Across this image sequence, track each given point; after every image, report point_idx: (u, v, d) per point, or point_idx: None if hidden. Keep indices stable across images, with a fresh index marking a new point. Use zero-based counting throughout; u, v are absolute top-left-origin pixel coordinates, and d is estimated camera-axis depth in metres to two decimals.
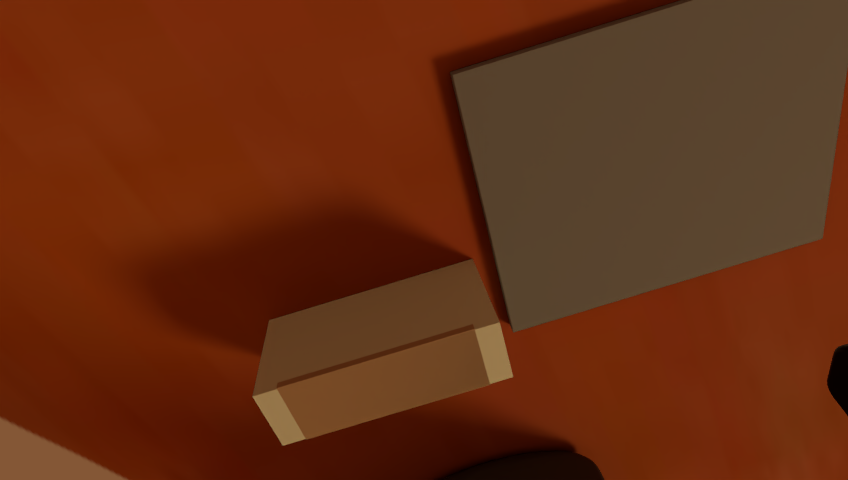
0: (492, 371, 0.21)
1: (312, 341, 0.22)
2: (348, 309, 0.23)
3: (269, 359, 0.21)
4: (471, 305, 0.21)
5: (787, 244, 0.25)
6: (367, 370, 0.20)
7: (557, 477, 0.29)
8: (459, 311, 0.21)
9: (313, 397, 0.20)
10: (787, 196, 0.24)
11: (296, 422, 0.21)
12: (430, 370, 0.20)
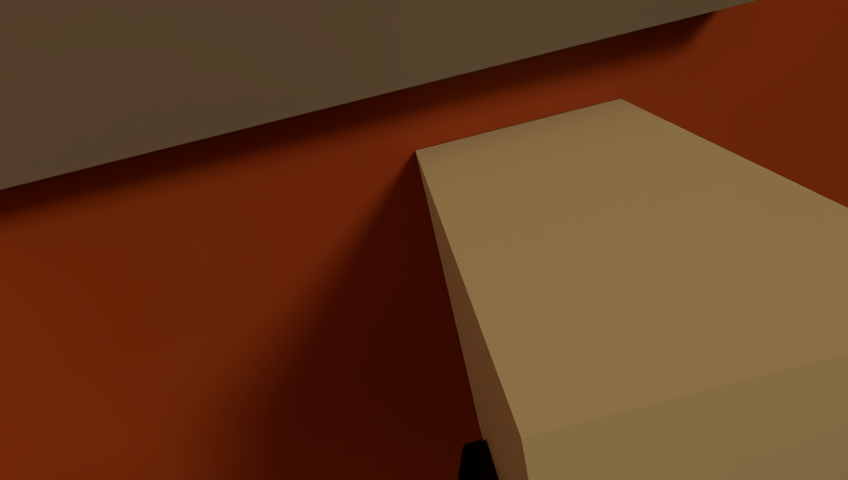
0: None
1: None
2: None
3: None
4: (480, 360, 0.04)
5: None
6: None
7: None
8: (492, 414, 0.05)
9: None
10: None
11: None
12: None
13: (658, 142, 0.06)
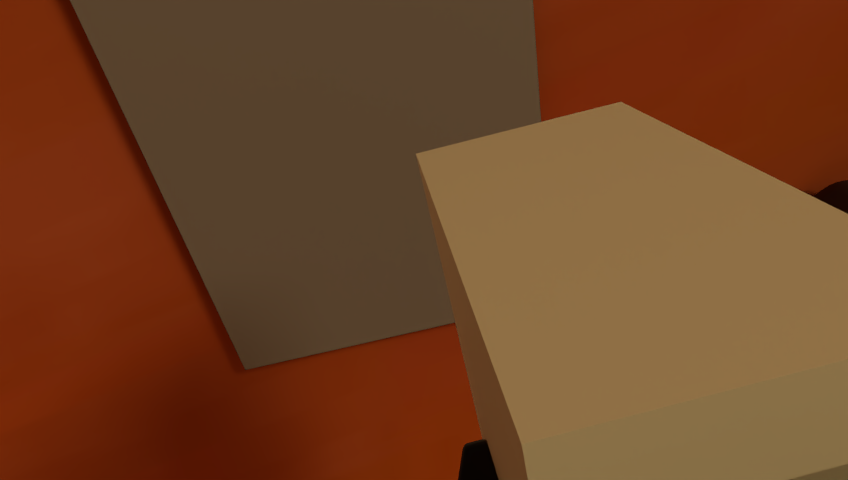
0: None
1: None
2: None
3: None
4: (481, 365, 0.05)
5: None
6: None
7: None
8: (494, 417, 0.05)
9: None
10: None
11: None
12: None
13: (657, 144, 0.06)
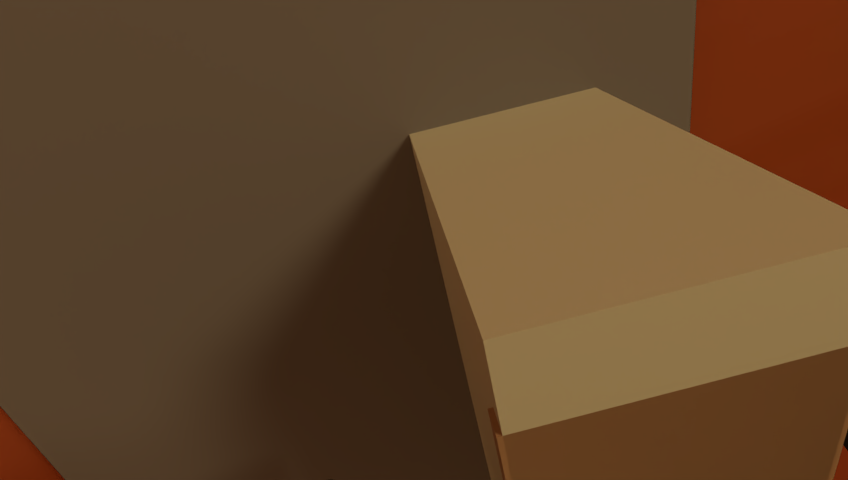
0: (796, 339, 0.04)
1: None
2: (486, 452, 0.10)
3: None
4: (460, 305, 0.05)
5: None
6: None
7: None
8: (473, 354, 0.05)
9: None
10: (491, 41, 0.07)
11: None
12: None
13: (622, 122, 0.06)
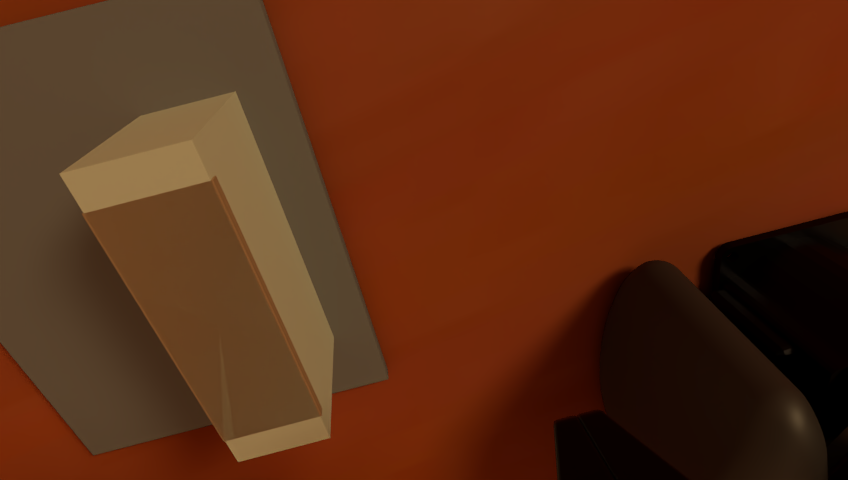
0: (179, 178, 0.12)
1: None
2: None
3: None
4: None
5: (261, 37, 0.15)
6: (187, 352, 0.14)
7: (623, 344, 0.20)
8: None
9: (240, 408, 0.15)
10: (172, 69, 0.15)
11: (288, 424, 0.16)
12: (181, 274, 0.13)
13: (210, 107, 0.14)
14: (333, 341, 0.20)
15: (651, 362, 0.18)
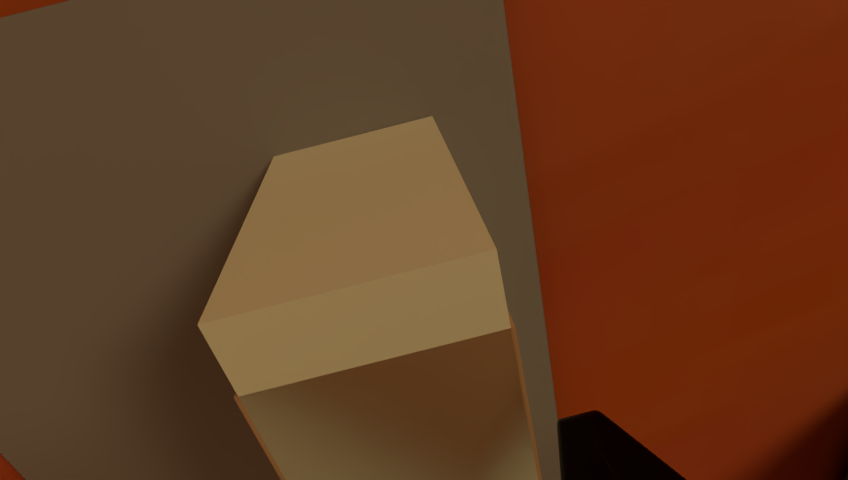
0: (449, 325, 0.05)
1: None
2: None
3: None
4: None
5: (489, 23, 0.09)
6: None
7: None
8: None
9: None
10: (334, 79, 0.09)
11: None
12: None
13: (421, 150, 0.08)
14: None
15: None
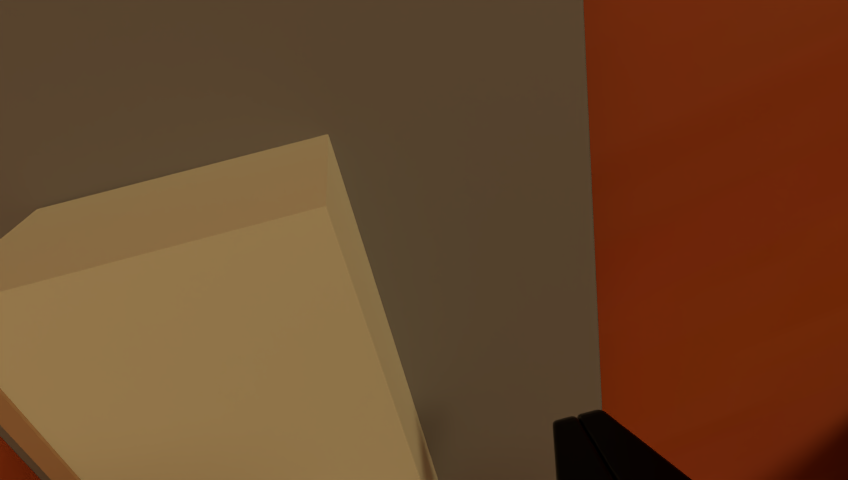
0: None
1: None
2: None
3: None
4: None
5: None
6: None
7: None
8: None
9: None
10: (398, 49, 0.08)
11: None
12: None
13: (193, 228, 0.06)
14: None
15: None
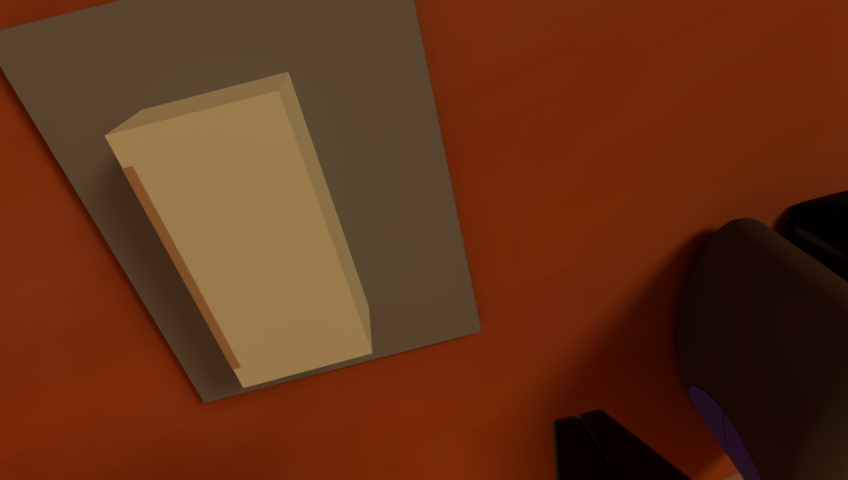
0: None
1: None
2: None
3: None
4: None
5: None
6: None
7: (710, 296, 0.22)
8: None
9: None
10: (321, 28, 0.16)
11: None
12: None
13: (222, 102, 0.15)
14: (363, 354, 0.19)
15: (745, 308, 0.20)
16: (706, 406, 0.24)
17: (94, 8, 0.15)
